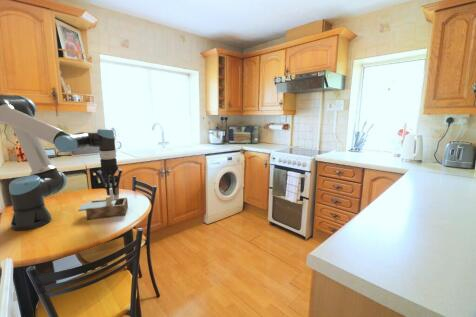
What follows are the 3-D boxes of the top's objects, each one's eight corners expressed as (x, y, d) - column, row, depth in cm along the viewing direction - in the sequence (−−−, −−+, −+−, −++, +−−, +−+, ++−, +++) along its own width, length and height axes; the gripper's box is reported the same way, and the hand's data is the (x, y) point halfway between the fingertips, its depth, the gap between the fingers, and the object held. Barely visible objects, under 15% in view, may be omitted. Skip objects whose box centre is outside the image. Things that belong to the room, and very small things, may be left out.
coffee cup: (123, 197, 153) (121, 175, 150) (115, 202, 145) (113, 179, 142) (111, 197, 154) (109, 175, 151) (103, 202, 146) (100, 179, 143)
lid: (78, 211, 121) (77, 202, 120) (83, 204, 129) (82, 196, 128) (113, 207, 126) (112, 198, 125) (116, 201, 134) (115, 193, 134)
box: (87, 220, 122) (85, 209, 121) (93, 210, 133) (92, 200, 132) (125, 215, 127) (124, 205, 126) (128, 207, 139) (127, 197, 137)
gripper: (92, 160, 119) (97, 203, 124) (120, 158, 124) (124, 201, 128) (96, 157, 126) (100, 198, 131) (122, 156, 131) (126, 196, 135)
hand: (112, 199), depth 130 cm, fingers closed
